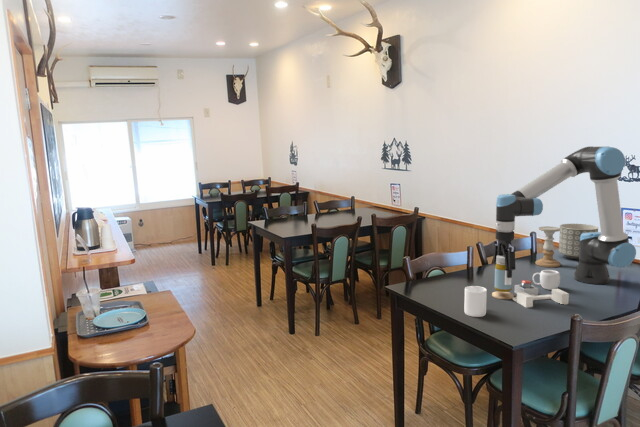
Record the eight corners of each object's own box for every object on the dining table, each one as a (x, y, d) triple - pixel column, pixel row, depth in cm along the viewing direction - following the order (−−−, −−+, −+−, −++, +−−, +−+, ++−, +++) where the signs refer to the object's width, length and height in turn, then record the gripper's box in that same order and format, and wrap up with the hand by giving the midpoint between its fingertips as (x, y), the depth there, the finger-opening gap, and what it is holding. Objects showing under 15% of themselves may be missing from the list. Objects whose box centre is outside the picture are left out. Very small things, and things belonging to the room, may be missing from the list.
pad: (506, 292, 220) (507, 290, 220) (517, 298, 211) (518, 296, 211) (488, 293, 219) (488, 292, 218) (498, 300, 210) (498, 298, 210)
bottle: (512, 292, 210) (514, 258, 208) (495, 292, 212) (496, 258, 209) (509, 287, 217) (511, 254, 215) (493, 287, 218) (494, 254, 216)
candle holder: (564, 267, 258) (566, 229, 255) (541, 267, 258) (542, 230, 255) (554, 261, 270) (555, 225, 267) (531, 262, 270) (533, 226, 267)
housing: (541, 290, 221) (541, 280, 221) (568, 304, 203) (568, 293, 202) (501, 293, 218) (502, 283, 218) (525, 307, 200) (526, 297, 199)
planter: (564, 261, 269) (566, 229, 266) (554, 253, 287) (555, 223, 285) (601, 262, 266) (604, 229, 263) (588, 254, 284) (590, 223, 282)
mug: (562, 287, 224) (563, 271, 223) (556, 292, 218) (557, 275, 217) (535, 283, 233) (536, 267, 231) (528, 287, 226) (529, 270, 225)
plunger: (527, 289, 218) (528, 279, 218) (532, 292, 215) (533, 282, 214) (519, 290, 218) (519, 280, 217) (524, 292, 214) (524, 282, 213)
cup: (460, 314, 195) (461, 289, 193) (473, 306, 203) (474, 282, 202) (480, 318, 189) (481, 293, 188) (493, 310, 198) (493, 286, 196)
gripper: (485, 226, 220) (484, 276, 223) (509, 235, 200) (507, 289, 204) (501, 226, 221) (499, 275, 224) (526, 234, 201) (523, 288, 205)
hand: (503, 282), depth 214 cm, fingers closed on bottle, 7 cm apart
